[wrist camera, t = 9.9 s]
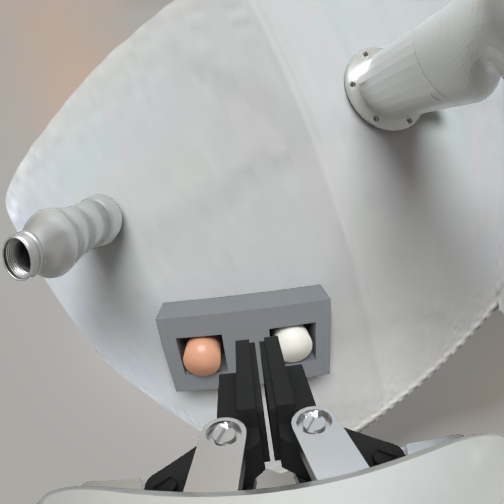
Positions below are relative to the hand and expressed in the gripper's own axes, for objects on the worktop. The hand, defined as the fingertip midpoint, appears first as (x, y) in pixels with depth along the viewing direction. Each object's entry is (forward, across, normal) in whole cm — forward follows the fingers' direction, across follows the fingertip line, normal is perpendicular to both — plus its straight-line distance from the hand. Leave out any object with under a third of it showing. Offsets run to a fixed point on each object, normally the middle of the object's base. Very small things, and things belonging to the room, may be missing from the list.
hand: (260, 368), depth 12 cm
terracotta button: (+28, +7, +15) cm, 32 cm away
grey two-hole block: (+29, +1, +15) cm, 33 cm away
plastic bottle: (+29, +18, -4) cm, 35 cm away
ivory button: (+28, -5, +15) cm, 33 cm away
